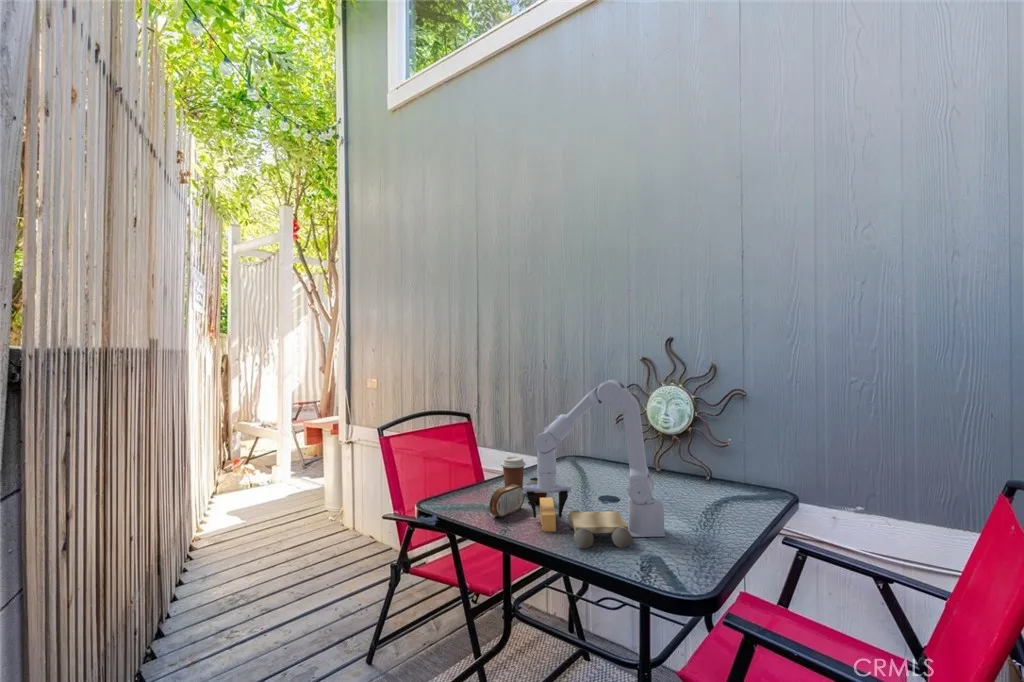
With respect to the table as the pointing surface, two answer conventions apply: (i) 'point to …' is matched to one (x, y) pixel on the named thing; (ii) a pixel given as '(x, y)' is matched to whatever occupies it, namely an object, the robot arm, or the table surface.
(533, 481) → the mate gourd
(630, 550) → the table surface
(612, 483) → the table surface
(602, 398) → the robot arm
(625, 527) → the trolley
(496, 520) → the table surface
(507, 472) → the coffee cup
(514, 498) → the tin
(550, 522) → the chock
